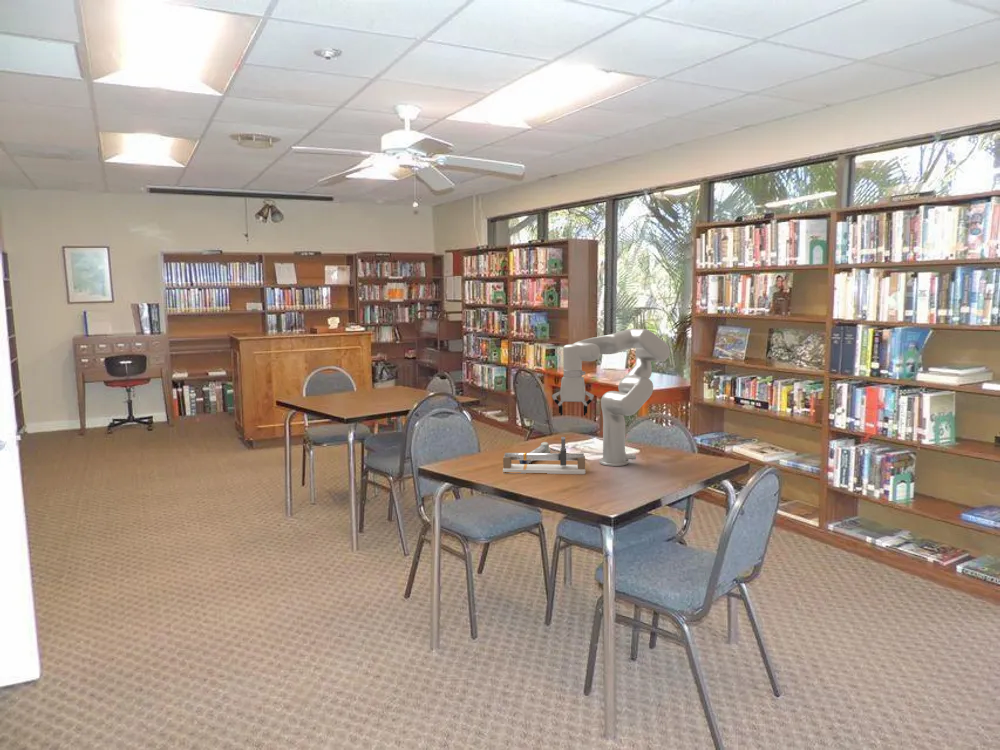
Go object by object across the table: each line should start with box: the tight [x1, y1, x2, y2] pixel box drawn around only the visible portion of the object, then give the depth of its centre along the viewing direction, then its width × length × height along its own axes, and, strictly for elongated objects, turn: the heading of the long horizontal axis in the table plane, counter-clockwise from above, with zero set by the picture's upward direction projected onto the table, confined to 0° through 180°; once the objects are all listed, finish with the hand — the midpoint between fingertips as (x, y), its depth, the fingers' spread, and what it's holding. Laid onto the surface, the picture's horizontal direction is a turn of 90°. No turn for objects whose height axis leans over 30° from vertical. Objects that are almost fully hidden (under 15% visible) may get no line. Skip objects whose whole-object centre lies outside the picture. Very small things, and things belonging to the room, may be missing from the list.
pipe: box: [504, 452, 585, 462], centre depth 294 cm, size 33×3×3 cm, turn 85°
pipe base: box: [502, 454, 586, 475], centre depth 295 cm, size 34×10×6 cm, turn 85°
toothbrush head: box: [518, 441, 552, 464], centre depth 315 cm, size 5×7×25 cm
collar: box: [559, 436, 567, 466], centre depth 293 cm, size 2×6×11 cm, turn 175°
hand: (573, 415), depth 292 cm, fingers open, 9 cm apart
